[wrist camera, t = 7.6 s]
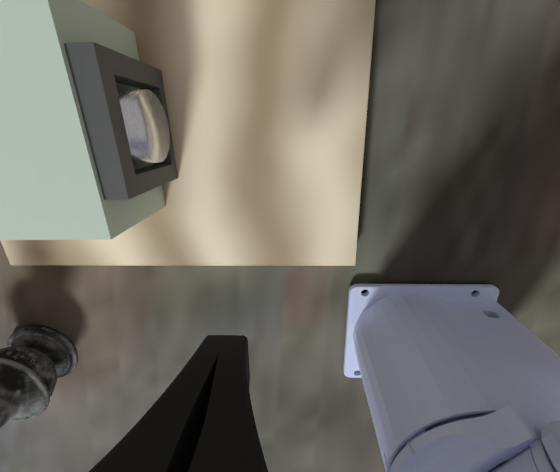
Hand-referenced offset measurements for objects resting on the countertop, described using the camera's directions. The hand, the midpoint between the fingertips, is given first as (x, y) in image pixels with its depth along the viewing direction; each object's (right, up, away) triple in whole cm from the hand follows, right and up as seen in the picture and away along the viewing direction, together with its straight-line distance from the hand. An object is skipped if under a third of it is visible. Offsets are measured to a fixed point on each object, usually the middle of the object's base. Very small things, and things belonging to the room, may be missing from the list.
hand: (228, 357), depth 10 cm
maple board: (-5, +10, +6) cm, 13 cm away
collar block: (-8, +10, +5) cm, 14 cm away
